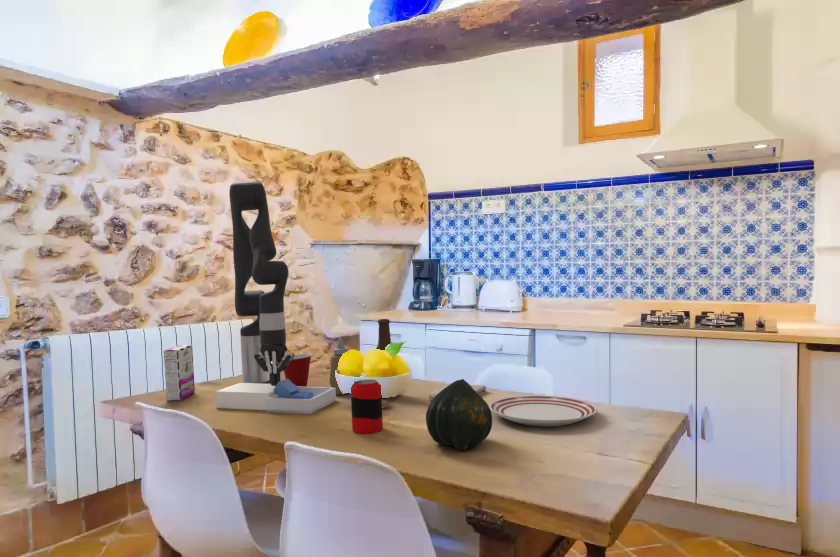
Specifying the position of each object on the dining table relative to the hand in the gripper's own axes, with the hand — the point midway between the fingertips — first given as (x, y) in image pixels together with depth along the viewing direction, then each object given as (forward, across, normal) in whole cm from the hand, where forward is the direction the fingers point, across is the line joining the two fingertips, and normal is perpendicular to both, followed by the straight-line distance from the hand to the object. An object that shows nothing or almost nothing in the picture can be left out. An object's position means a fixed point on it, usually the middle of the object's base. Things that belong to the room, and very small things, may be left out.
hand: (275, 385), depth 171 cm
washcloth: (+7, -52, -20) cm, 56 cm away
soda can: (+6, -37, +18) cm, 42 cm away
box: (+6, -9, 0) cm, 11 cm away
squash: (+6, -62, +25) cm, 68 cm away
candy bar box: (+6, +39, -5) cm, 40 cm away
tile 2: (+2, -8, 0) cm, 9 cm away
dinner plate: (+7, -78, -1) cm, 79 cm away
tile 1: (+2, -3, 0) cm, 4 cm away
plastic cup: (+6, +4, -19) cm, 21 cm away
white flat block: (+6, +8, 0) cm, 10 cm away
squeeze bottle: (+6, -13, -18) cm, 23 cm away
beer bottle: (+6, -29, -16) cm, 34 cm away
